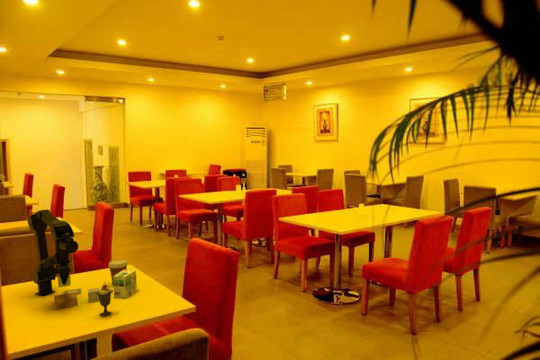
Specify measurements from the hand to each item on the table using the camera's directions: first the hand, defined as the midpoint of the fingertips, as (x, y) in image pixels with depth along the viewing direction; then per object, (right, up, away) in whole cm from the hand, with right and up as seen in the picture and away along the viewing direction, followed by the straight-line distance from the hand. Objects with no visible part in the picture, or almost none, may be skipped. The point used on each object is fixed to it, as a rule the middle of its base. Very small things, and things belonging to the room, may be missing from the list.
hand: (64, 282), depth 191 cm
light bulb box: (+24, -9, +12) cm, 29 cm away
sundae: (+23, -11, -11) cm, 28 cm away
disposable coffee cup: (+16, -8, +27) cm, 32 cm away
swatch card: (-4, -9, +15) cm, 18 cm away
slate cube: (+11, -10, +5) cm, 16 cm away
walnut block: (0, -11, +1) cm, 11 cm away
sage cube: (0, -1, 0) cm, 1 cm away
